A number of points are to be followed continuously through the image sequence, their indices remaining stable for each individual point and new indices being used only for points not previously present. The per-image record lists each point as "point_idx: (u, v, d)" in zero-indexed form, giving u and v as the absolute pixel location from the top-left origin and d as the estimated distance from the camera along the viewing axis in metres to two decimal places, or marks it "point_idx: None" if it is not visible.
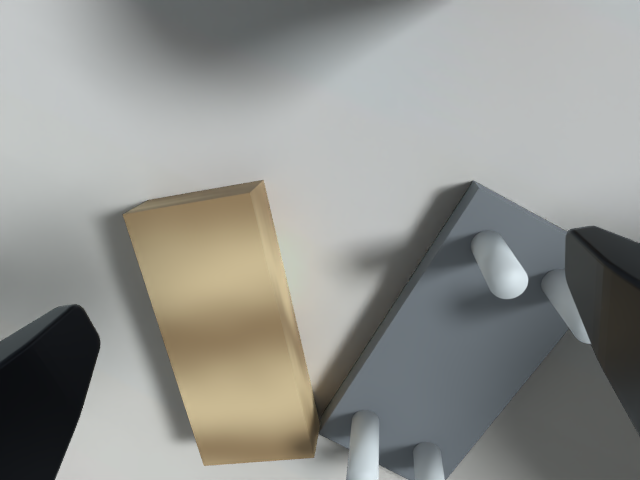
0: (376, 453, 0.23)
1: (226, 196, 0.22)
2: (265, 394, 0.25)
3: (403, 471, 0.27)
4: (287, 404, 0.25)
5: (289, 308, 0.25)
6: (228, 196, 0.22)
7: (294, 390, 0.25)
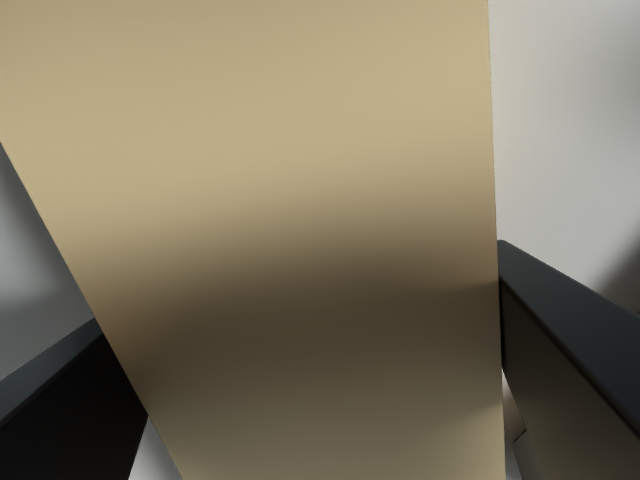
0: None
1: None
2: (409, 467, 0.09)
3: None
4: None
5: None
6: None
7: (495, 458, 0.09)
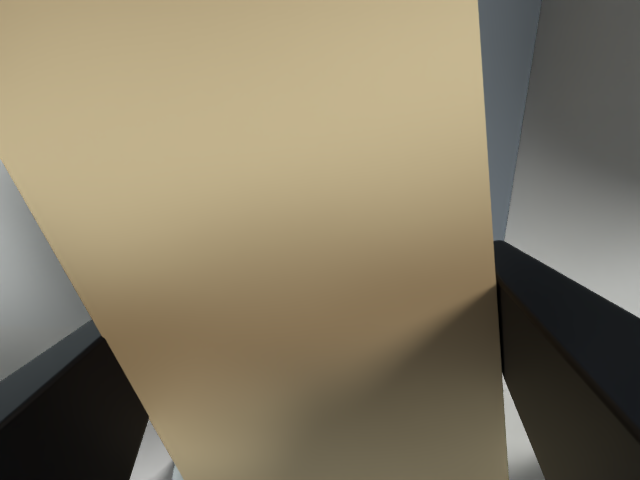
0: None
1: None
2: (411, 464, 0.09)
3: None
4: None
5: None
6: None
7: (497, 454, 0.09)
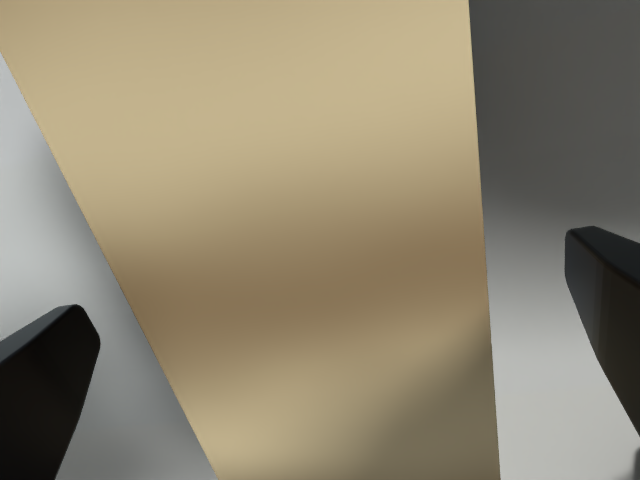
0: None
1: None
2: (408, 422, 0.10)
3: None
4: (462, 440, 0.10)
5: None
6: None
7: (487, 412, 0.10)
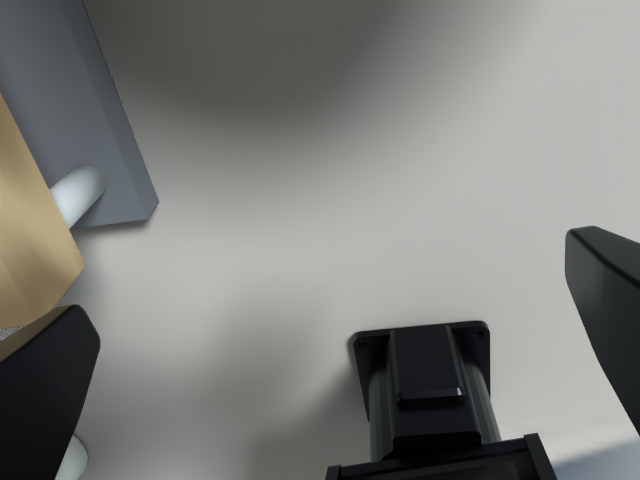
0: None
1: None
2: None
3: (96, 219, 0.21)
4: None
5: None
6: None
7: None
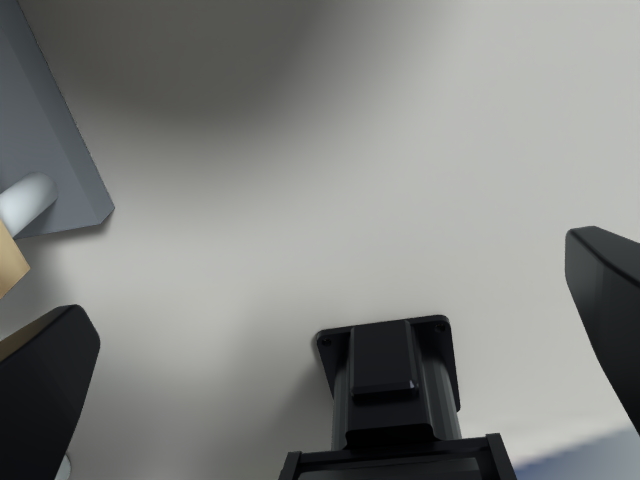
0: None
1: None
2: None
3: (52, 226, 0.21)
4: None
5: None
6: None
7: None
